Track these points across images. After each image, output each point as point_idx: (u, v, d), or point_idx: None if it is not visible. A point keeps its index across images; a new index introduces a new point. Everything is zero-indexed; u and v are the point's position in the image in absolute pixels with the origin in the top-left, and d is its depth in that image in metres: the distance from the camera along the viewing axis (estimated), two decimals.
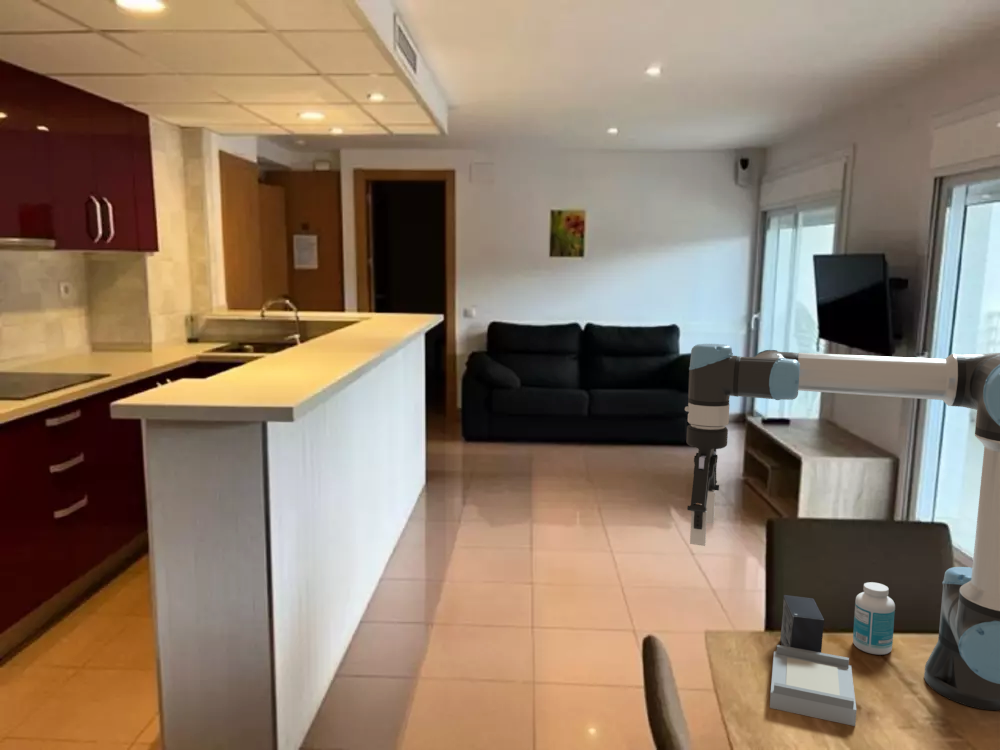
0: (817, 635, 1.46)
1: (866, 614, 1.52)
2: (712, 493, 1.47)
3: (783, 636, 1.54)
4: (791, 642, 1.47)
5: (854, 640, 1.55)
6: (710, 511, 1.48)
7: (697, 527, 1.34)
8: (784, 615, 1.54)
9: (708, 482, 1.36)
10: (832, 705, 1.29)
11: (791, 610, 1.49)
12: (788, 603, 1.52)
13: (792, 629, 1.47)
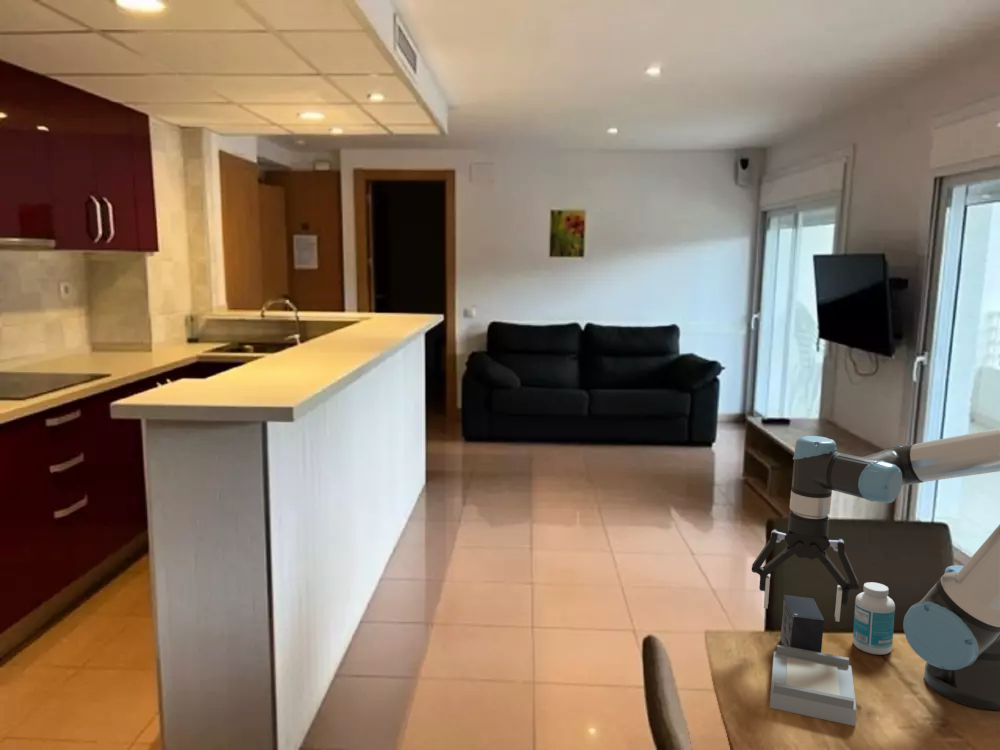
0: (817, 635, 1.46)
1: (866, 614, 1.52)
2: (837, 590, 1.47)
3: (783, 636, 1.54)
4: (791, 642, 1.47)
5: (854, 640, 1.55)
6: (836, 608, 1.48)
7: None
8: (784, 615, 1.54)
9: (779, 557, 1.50)
10: (832, 705, 1.29)
11: (791, 610, 1.49)
12: (788, 603, 1.52)
13: (792, 629, 1.47)
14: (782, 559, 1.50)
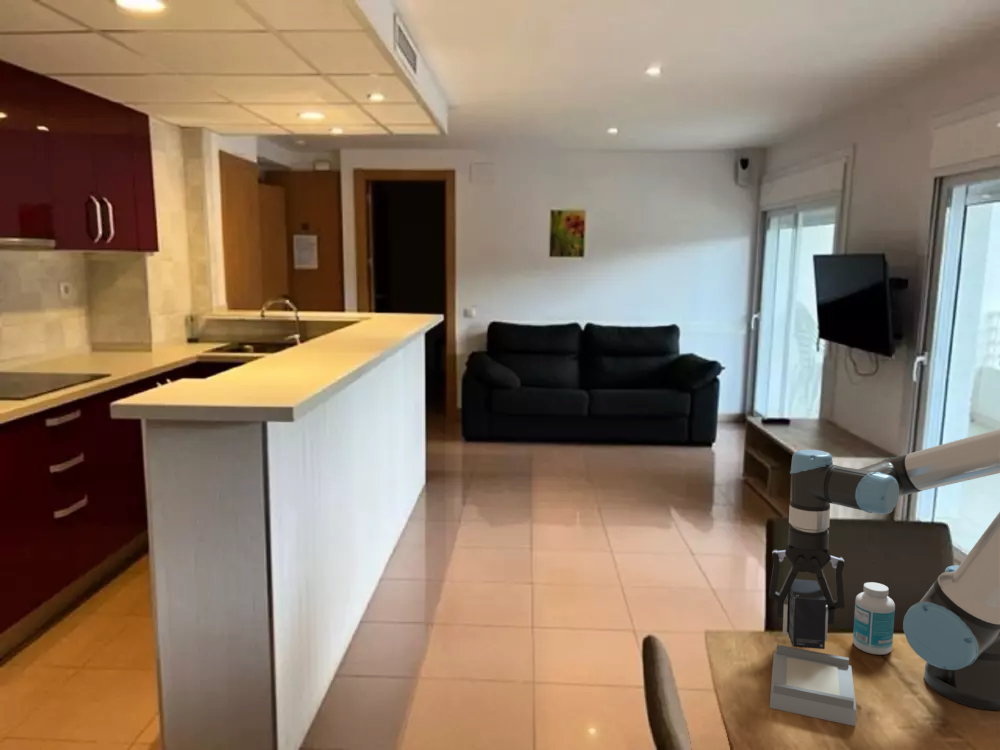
0: (820, 616, 1.45)
1: (866, 614, 1.52)
2: None
3: (787, 620, 1.53)
4: (794, 624, 1.46)
5: (854, 640, 1.55)
6: None
7: None
8: (787, 598, 1.53)
9: (788, 577, 1.50)
10: (832, 705, 1.29)
11: (793, 592, 1.48)
12: None
13: (794, 611, 1.46)
14: (791, 579, 1.50)
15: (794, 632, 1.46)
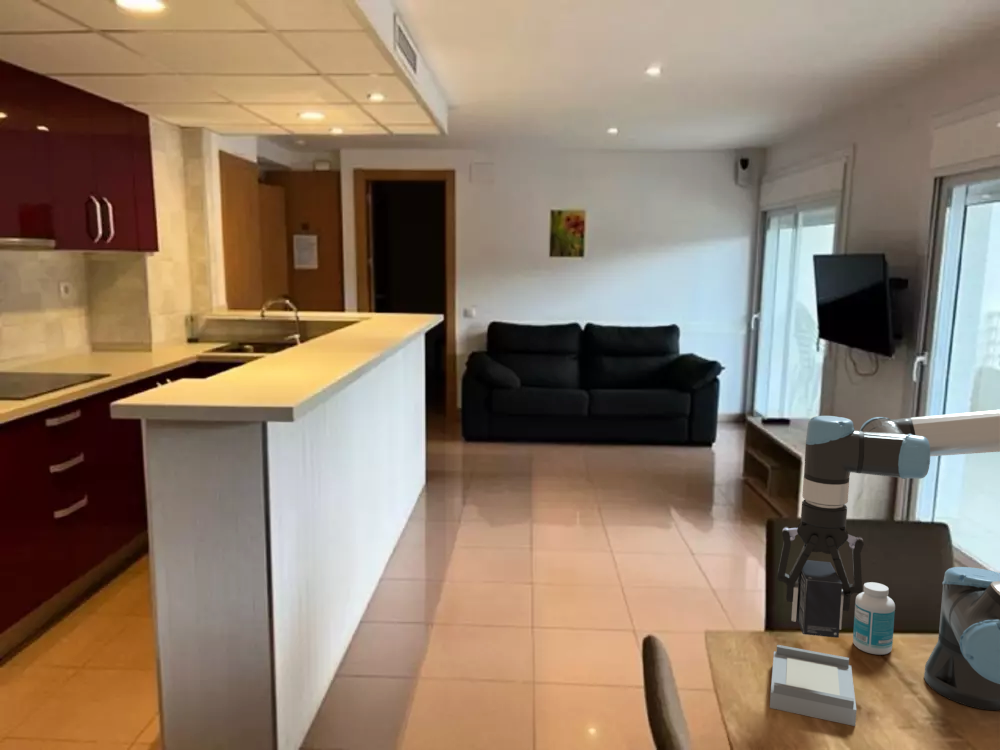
0: (834, 601, 1.30)
1: (866, 614, 1.52)
2: None
3: (797, 604, 1.38)
4: (805, 609, 1.31)
5: (854, 640, 1.55)
6: None
7: None
8: (797, 581, 1.38)
9: (799, 558, 1.34)
10: (832, 705, 1.29)
11: (805, 574, 1.33)
12: None
13: (806, 594, 1.31)
14: (803, 560, 1.34)
15: (805, 618, 1.31)
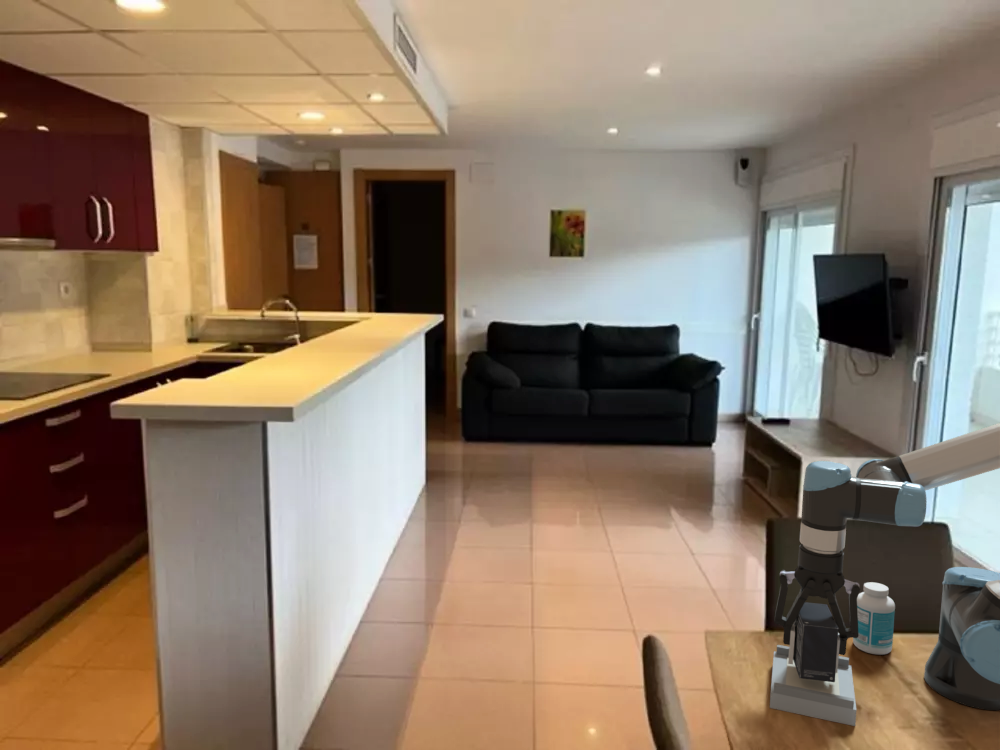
0: (831, 646, 1.31)
1: (866, 614, 1.52)
2: None
3: (794, 647, 1.39)
4: (802, 654, 1.32)
5: (854, 640, 1.55)
6: None
7: None
8: (794, 623, 1.39)
9: (796, 602, 1.35)
10: (832, 705, 1.29)
11: (801, 618, 1.34)
12: None
13: (803, 639, 1.32)
14: (800, 603, 1.35)
15: (802, 662, 1.32)
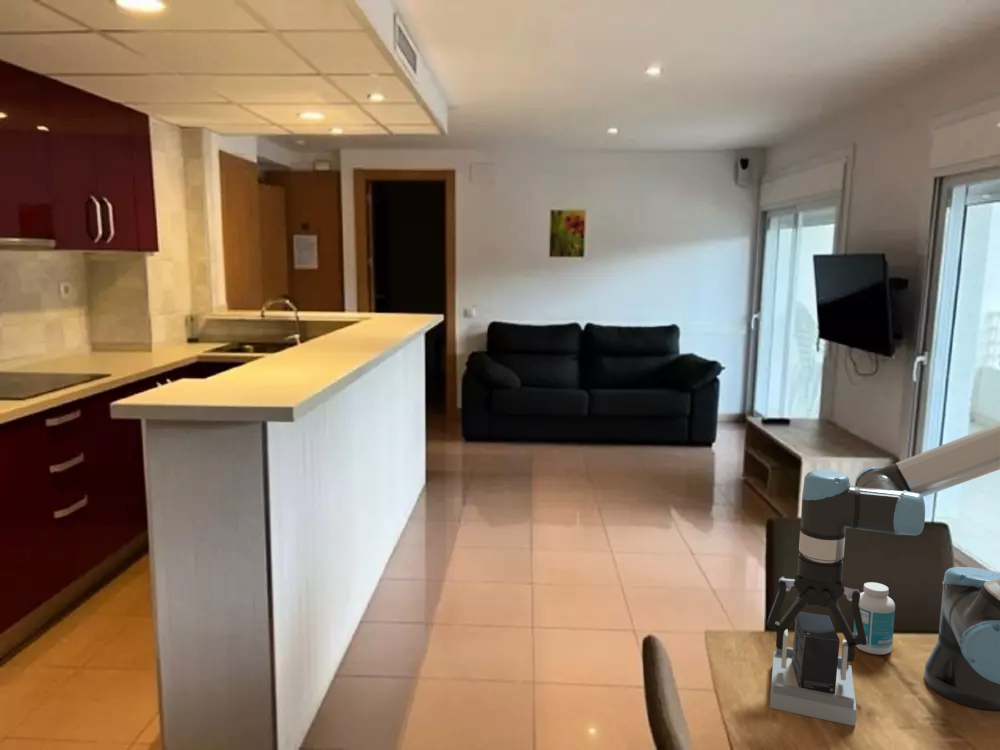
0: (832, 658, 1.31)
1: (866, 614, 1.52)
2: (843, 646, 1.34)
3: (794, 657, 1.39)
4: (802, 664, 1.32)
5: None
6: (841, 665, 1.34)
7: (776, 644, 1.39)
8: (796, 634, 1.39)
9: (792, 608, 1.36)
10: (832, 705, 1.29)
11: (803, 629, 1.34)
12: (800, 621, 1.37)
13: (804, 650, 1.32)
14: (796, 610, 1.36)
15: (802, 673, 1.33)
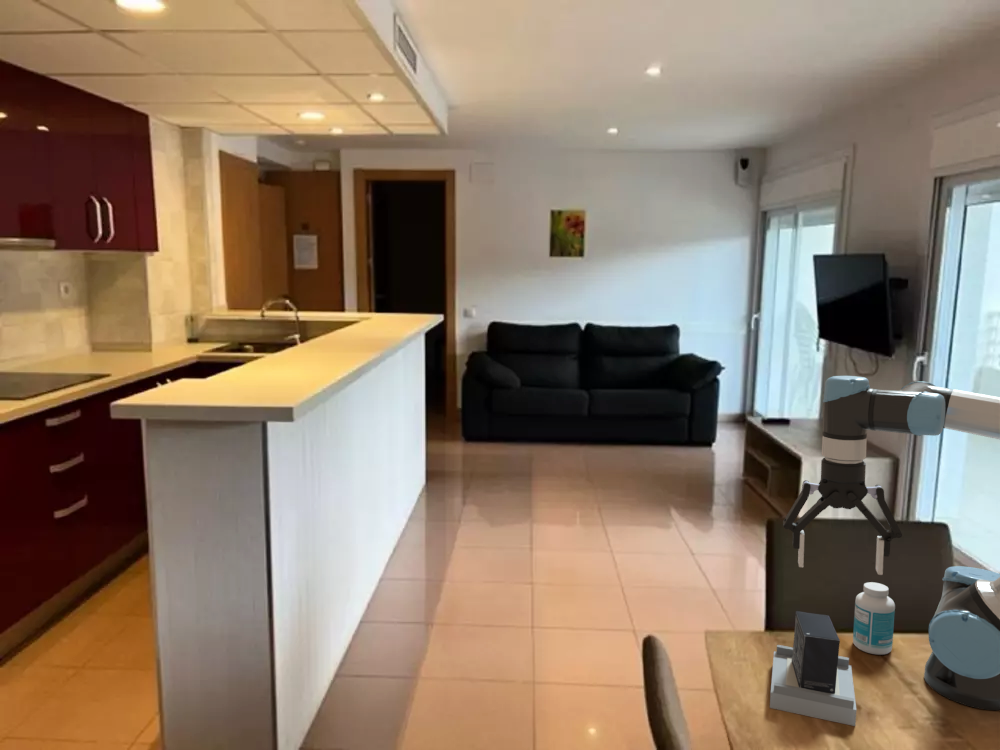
0: (832, 658, 1.31)
1: (866, 614, 1.52)
2: (878, 541, 1.36)
3: (794, 657, 1.39)
4: (802, 664, 1.32)
5: (854, 640, 1.55)
6: (877, 560, 1.37)
7: (793, 545, 1.42)
8: (796, 634, 1.39)
9: (813, 509, 1.39)
10: (832, 705, 1.29)
11: (803, 629, 1.34)
12: (800, 621, 1.37)
13: (804, 650, 1.32)
14: (817, 512, 1.38)
15: (802, 673, 1.33)
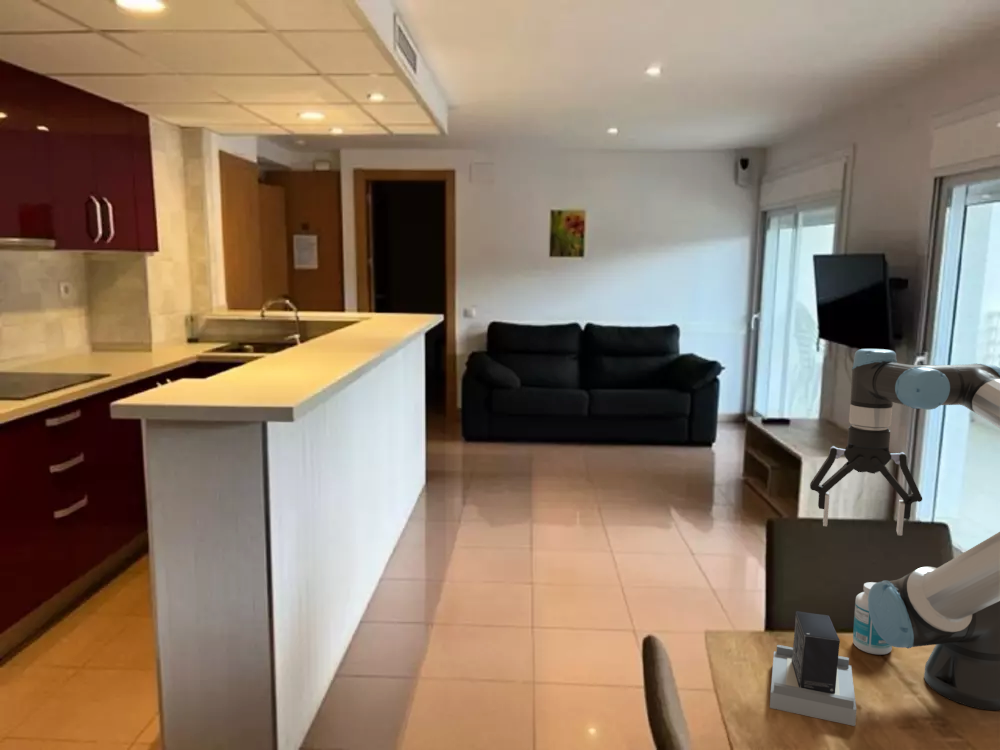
0: (832, 658, 1.31)
1: (866, 614, 1.52)
2: (900, 504, 1.45)
3: (794, 657, 1.39)
4: (802, 664, 1.32)
5: (854, 640, 1.55)
6: (898, 522, 1.46)
7: None
8: (796, 634, 1.39)
9: (839, 472, 1.49)
10: (832, 705, 1.29)
11: (803, 629, 1.34)
12: (800, 621, 1.37)
13: (804, 650, 1.32)
14: (842, 475, 1.48)
15: (802, 673, 1.33)
